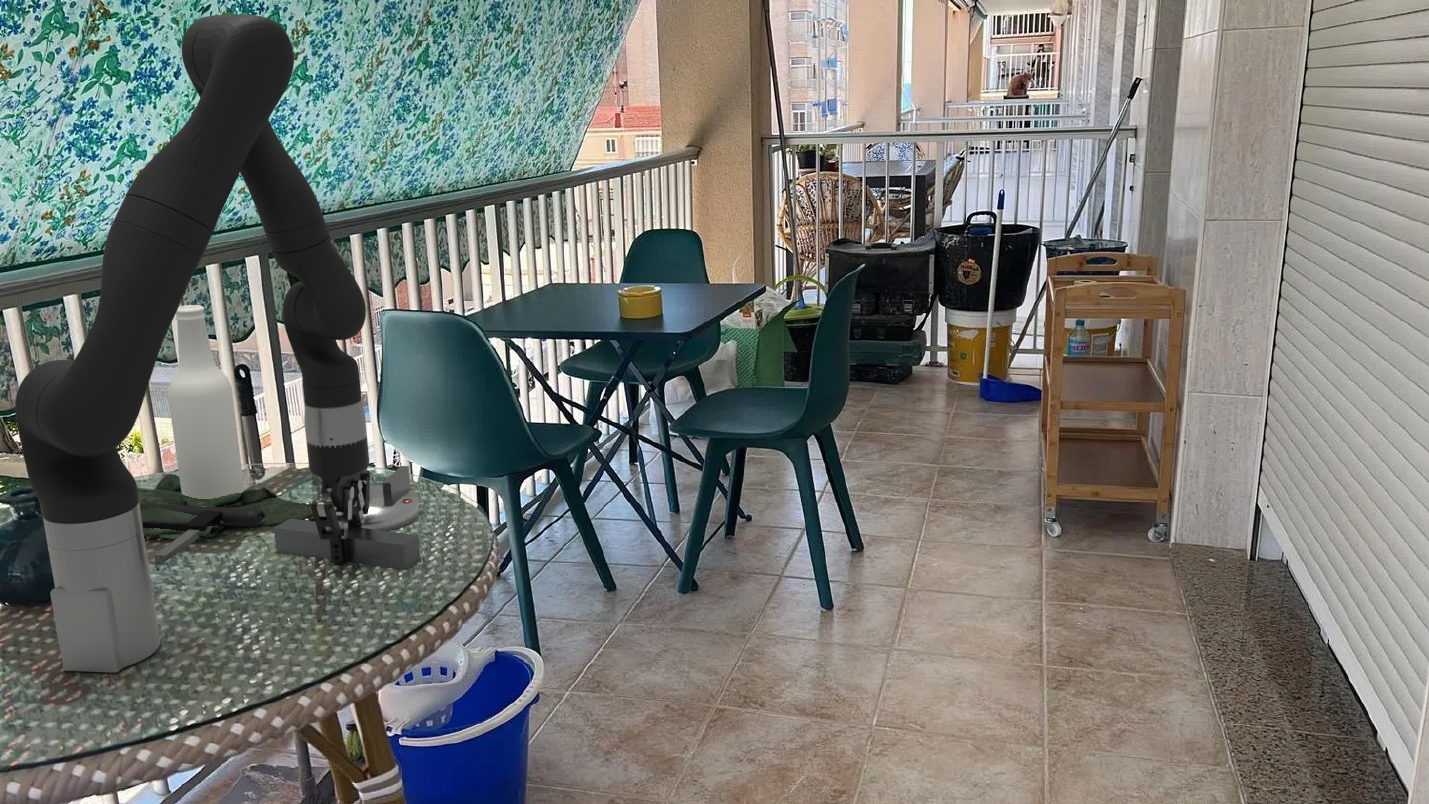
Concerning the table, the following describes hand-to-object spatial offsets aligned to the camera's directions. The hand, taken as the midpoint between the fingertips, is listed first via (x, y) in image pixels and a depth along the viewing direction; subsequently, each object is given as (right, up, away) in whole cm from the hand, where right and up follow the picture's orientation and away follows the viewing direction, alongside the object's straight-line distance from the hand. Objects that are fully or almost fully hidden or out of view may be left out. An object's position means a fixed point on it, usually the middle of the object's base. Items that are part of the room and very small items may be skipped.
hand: (348, 556), depth 151 cm
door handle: (-27, +1, +8) cm, 28 cm away
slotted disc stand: (-1, +4, +14) cm, 14 cm away
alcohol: (-28, +6, +23) cm, 37 cm away
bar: (0, 0, 0) cm, 0 cm away
